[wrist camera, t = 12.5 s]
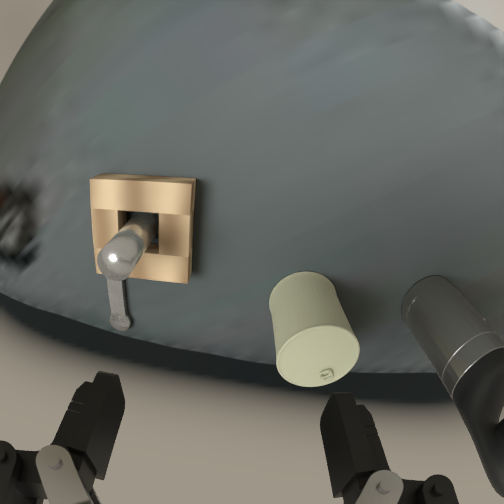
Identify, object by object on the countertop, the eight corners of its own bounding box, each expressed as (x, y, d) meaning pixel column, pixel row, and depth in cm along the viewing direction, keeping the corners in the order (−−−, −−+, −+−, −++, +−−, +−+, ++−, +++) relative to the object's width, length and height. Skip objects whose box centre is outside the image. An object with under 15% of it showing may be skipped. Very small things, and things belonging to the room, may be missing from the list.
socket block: (195, 178, 35) (191, 184, 32) (191, 271, 40) (187, 283, 37) (100, 173, 34) (90, 179, 32) (105, 262, 39) (96, 273, 37)
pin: (160, 210, 37) (130, 247, 27) (160, 238, 38) (133, 283, 28) (132, 208, 36) (95, 244, 26) (133, 236, 38) (99, 278, 28)
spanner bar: (104, 262, 39) (102, 265, 39) (126, 264, 40) (123, 268, 39) (113, 325, 44) (111, 329, 43) (132, 328, 44) (130, 332, 43)
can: (285, 336, 45) (295, 400, 34) (257, 289, 41) (261, 351, 30) (344, 311, 43) (369, 370, 32) (322, 259, 40) (348, 314, 29)
